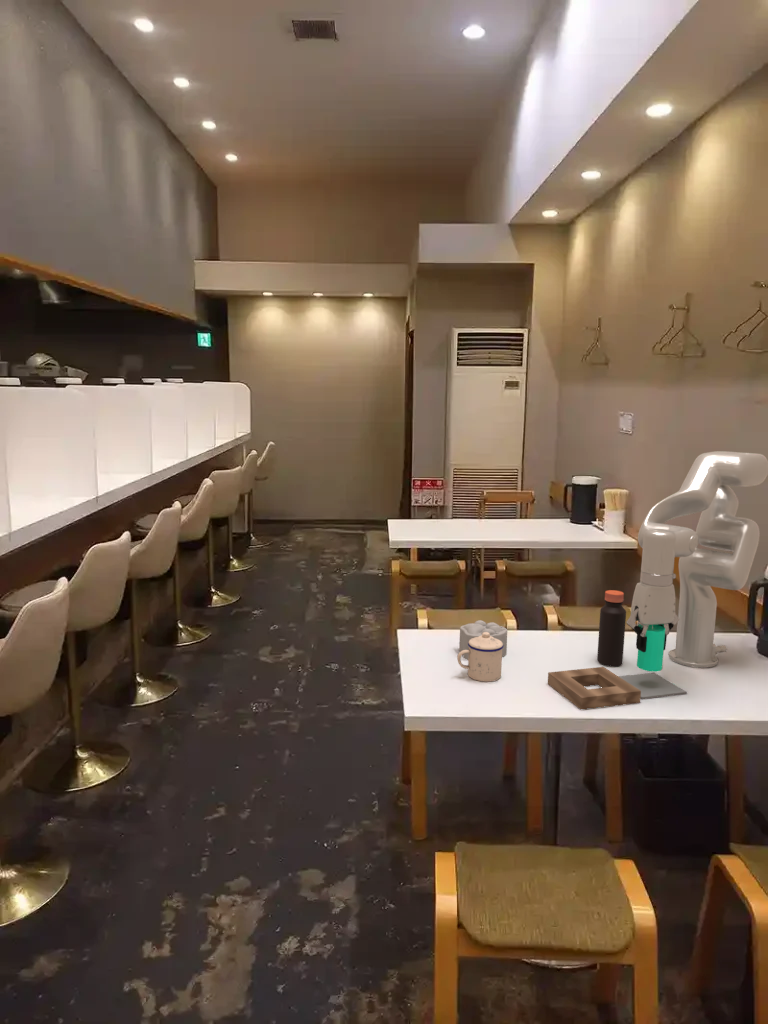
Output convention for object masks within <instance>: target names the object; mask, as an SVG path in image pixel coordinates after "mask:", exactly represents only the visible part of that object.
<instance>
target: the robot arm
mask: <svg viewBox="0 0 768 1024" xmlns="http://www.w3.org/2000/svg"><path fill="white" fill-rule="evenodd" d="M767 476H768V458H767V457H766V456H765V455H764V454H762V453H752V452H739V451H737V452H736V451H725V450H721V451H720V450H719V451H717V450H716V451H709V452H703V453H701V454H699V455H698V456H697V457H696V458H695V460H694V461H693V463H692V465H691V467H690V469H689V471H688V472H687V475H686V476H685V478H684V480H683V482H682V483H681V487H679V490H678V491H676V492H674V493H673V494H671V495H669V496H667V497H665V498H663V499H661V501H659V502H657V503H656V504H654V505H653V506H652V507H651V508H650V510H649V511H648V512H647V513H646V516H645V517H644V519H643V521H642V523H641V526H640V528H639V530H638V534H637V541H638V545H639V547H640V548H642V553H641V566H640V578H639V580H640V581H639V582H637V583H636V585H635V589H634V591H633V596H632V601H631V607H630V616H629V617H628V619H627V620H626V622H625V624H626V625H627V626H628V627H630V628H631V629H632V630H633V631H634V633H635V634H636V642H635V643H636V645H635V647H636V649H637V651H638V650H640V651H642V652H646V644H647V637H645V635H646V631H647V629H648V626H649V625H660V626H662V627H663V628H665V640H664V651H665V650H666V647H667V646H666V645H667V637H668V635H670V631H671V630H672V629H673V628H674V626H676V625H677V626H676V635H675V636H676V638H675V646H674V647H675V648H673V649H671V650H670V651H669V652H668V657H669V659H670V660H671V661H673V662H675V663H677V664H680V665H683V666H685V667H686V666H687V667H691V668H700V669H701V668H702V669H704V668H712V667H715V666H717V665H718V663H719V659H718V657H717V656H716V655H718V653H719V654H721V653H727V651H728V650H727V649H728V647H727V645H717V644H715V643H714V637H715V629H716V628H715V627H716V616H717V607H718V603H717V602H718V601H717V596H716V594H715V592H714V590H713V589H712V587H713V588H720V589H724V590H731V591H738V590H741V589H743V588H744V586H745V585H746V583H747V581H748V579H749V575H750V572H751V569H752V565H753V563H754V559H755V555H756V554H757V549H758V546H759V543H760V535H761V534H760V527H759V525H758V524H757V522H756V521H755V520H753V519H751V518H747V517H740V516H736V515H737V511H738V509H739V504H740V501H739V499H738V496H737V495H736V493H735V491H734V489H733V488H731V487H741V488H742V487H743V488H744V487H745V488H748V487H754V486H759V485H761V484H762V483H763V482H765V480H766V478H767ZM697 513H700V516H699V519H698V522H697V526H696V530H694V529H692V528H689V527H686V526H679V525H674V524H667V522H669V521H670V520H673V519H676V518H679V517H680V518H681V517H684V516H689V515H692V514H694V515H695V514H697ZM699 545H700V546H702V547H705V548H698V546H699ZM706 548H710V549H706ZM715 549H716V550H715ZM717 550H718V551H717ZM719 550H721V551H719ZM723 551H727V552H723ZM728 552H732V553H728ZM675 558H679V559H678V575H679V601H678V602H679V603H678V613H676V590H675V585H674V584H673V582H674V581H673V580H675V579H676V578H677V574H676V573H674V570H675ZM642 626H643V627H642ZM641 627H642V630H641Z"/></svg>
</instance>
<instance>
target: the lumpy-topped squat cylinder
mask: <svg viewBox="0 0 768 1024" xmlns="http://www.w3.org/2000/svg"><path fill="white" fill-rule="evenodd" d="M483 632H488V633H490V636H492V637H493V638H496V639H498V640H500V641H501V642H502V643H503V648H502V657H503V658H504V657H506V656H507V652H508V651H507V648H508V629H507V628H506V627H504V626H502V625H499V624H498V623H497V622H493V621H492V622H486V621H484V620H480V619H479V620H475V622H474V623H473V622H472V623H467V624H464V625H461V626H460V627H459V643H458V644H459V648H458V649H459V653H460V652H461V651H462V650H469V646H468V642H469V640H470V639H472V638H475V637H479V636H481V635H482V633H483ZM462 656H463V658H464V659H465V660H468V657H469V653H465V654H463V655H462Z"/></svg>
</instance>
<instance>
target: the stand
mask: <svg viewBox="0 0 768 1024" xmlns="http://www.w3.org/2000/svg"><path fill="white" fill-rule="evenodd" d="M619 676H620V675H617V674H616V673H614V672H612V671H611V670H609V669H608V668H606V667H604V666H598V667H589V668H580V669H570V670H559V671H548V673H547V685H548V686H550V687H551V688H552V689H554V690H555V691H556V692H557V693H559V694H560V695H562V697H564V698H565V699H567V701H569V702H571V704H573V705H574V706H575V707H577V708H578V709H579V708H580V709H579V710H581V709H585V710H588V709H587V708H593V709H597V708H596V707H601V708H605V707H604V706H609V707H614V706H615V705H618V706H623V704H626V705H631V704H632V705H634V704H640V703H641V699H640V698H641V691H640V690H639V689H637V688H636V687H634V686H633V685H631V684H629V683H628V682H626V681H625V680H623V679H622V678H620V677H619ZM590 685H594V686H598V685H599V686H598V688H597V687H596V688H590V689H589V688H586V687H591V686H590ZM584 686H585V687H584ZM601 687H602V688H601Z"/></svg>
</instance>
